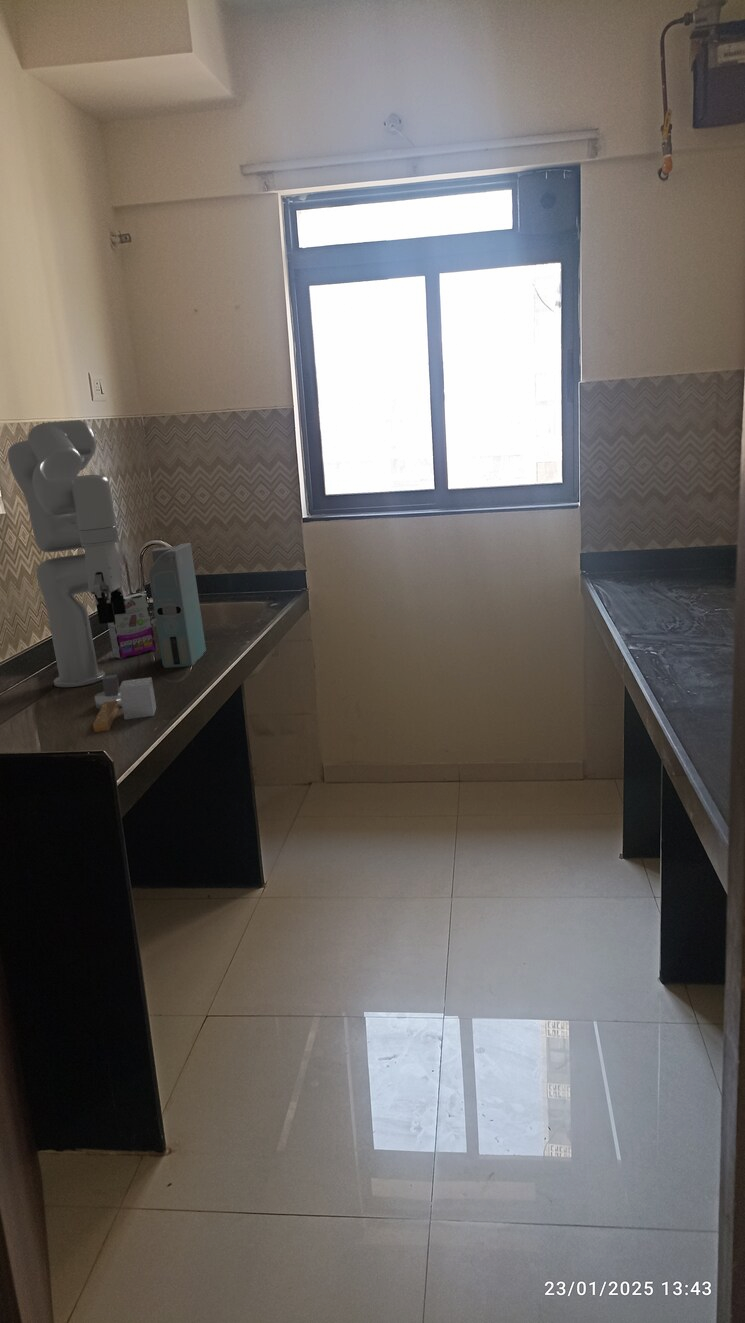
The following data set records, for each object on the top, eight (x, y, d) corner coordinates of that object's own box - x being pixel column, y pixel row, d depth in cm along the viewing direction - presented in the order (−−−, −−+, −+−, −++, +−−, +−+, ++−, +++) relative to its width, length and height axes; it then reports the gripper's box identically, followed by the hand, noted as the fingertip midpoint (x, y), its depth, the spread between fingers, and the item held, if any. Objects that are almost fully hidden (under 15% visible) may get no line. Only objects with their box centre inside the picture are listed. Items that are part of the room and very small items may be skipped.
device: (179, 653, 257) (162, 545, 249) (206, 651, 256) (190, 542, 249) (163, 668, 241) (145, 553, 234) (192, 666, 240) (175, 551, 233)
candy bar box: (148, 648, 267) (139, 592, 263) (156, 650, 263) (147, 593, 259) (112, 657, 260) (102, 600, 256) (120, 659, 256) (110, 601, 252)
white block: (127, 711, 204) (122, 680, 202) (156, 707, 205) (151, 677, 203) (124, 719, 198) (119, 688, 196) (153, 715, 199) (148, 684, 197)
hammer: (99, 701, 215) (94, 674, 213) (134, 697, 216) (129, 670, 214) (81, 734, 191) (76, 703, 190) (121, 728, 192) (116, 698, 190)
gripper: (91, 534, 199) (105, 612, 203) (69, 543, 182) (84, 628, 186) (126, 531, 199) (139, 609, 203) (107, 539, 182) (121, 624, 186)
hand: (113, 618), depth 195 cm, fingers open, 9 cm apart
